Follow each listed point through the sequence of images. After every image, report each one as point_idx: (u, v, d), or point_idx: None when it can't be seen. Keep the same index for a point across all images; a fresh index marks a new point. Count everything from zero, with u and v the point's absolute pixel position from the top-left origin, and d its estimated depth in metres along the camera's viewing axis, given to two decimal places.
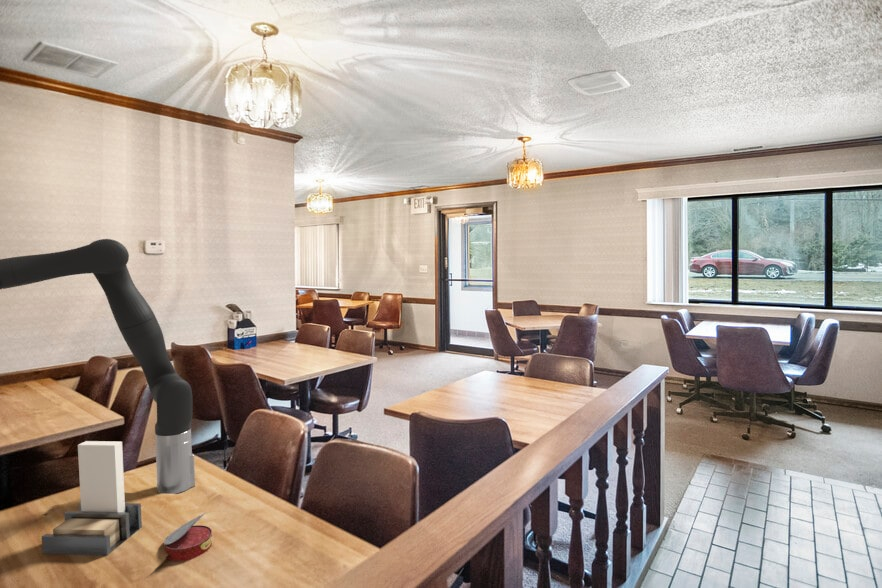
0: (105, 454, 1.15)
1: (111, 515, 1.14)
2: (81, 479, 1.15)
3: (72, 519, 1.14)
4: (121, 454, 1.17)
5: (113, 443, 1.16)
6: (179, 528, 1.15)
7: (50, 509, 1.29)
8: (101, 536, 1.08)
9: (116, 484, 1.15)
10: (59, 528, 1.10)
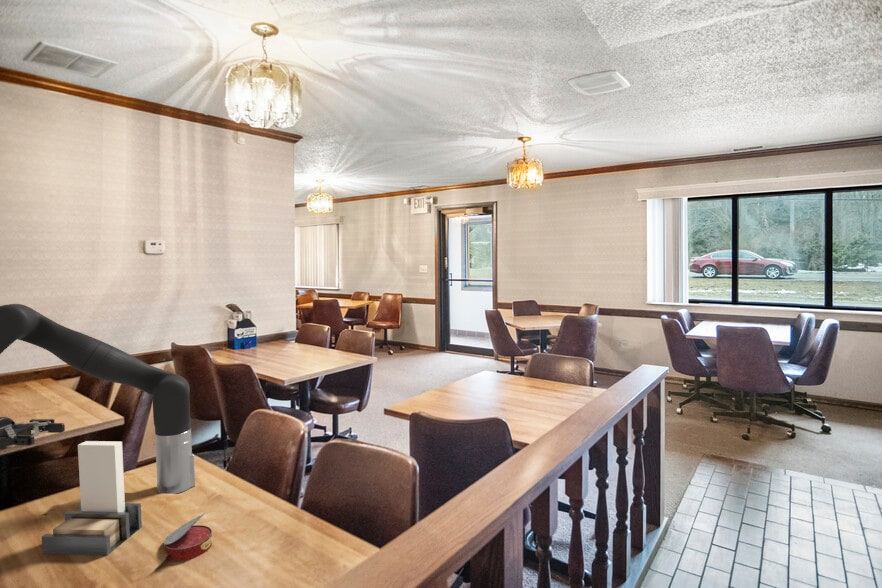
0: (105, 454, 1.15)
1: (111, 515, 1.14)
2: (81, 479, 1.15)
3: (72, 519, 1.14)
4: (121, 454, 1.17)
5: (113, 443, 1.16)
6: (179, 528, 1.15)
7: (50, 509, 1.29)
8: (101, 536, 1.08)
9: (116, 484, 1.15)
10: (59, 528, 1.10)
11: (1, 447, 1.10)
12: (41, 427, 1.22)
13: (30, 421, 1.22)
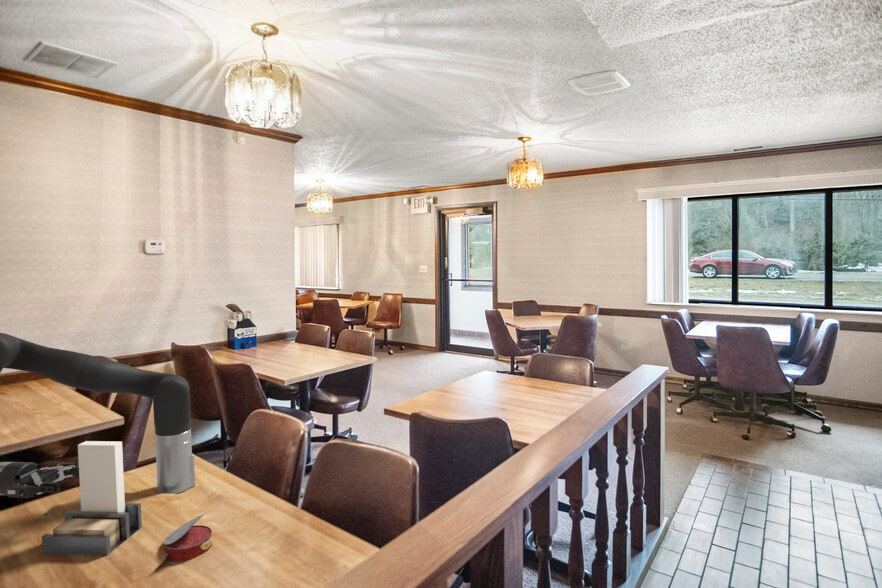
0: (105, 454, 1.15)
1: (111, 515, 1.14)
2: (81, 479, 1.15)
3: (72, 519, 1.14)
4: (121, 454, 1.17)
5: (113, 443, 1.16)
6: (179, 528, 1.15)
7: (50, 509, 1.29)
8: (101, 536, 1.08)
9: (116, 484, 1.15)
10: (59, 528, 1.10)
11: (28, 495, 1.10)
12: (65, 470, 1.23)
13: (54, 464, 1.23)
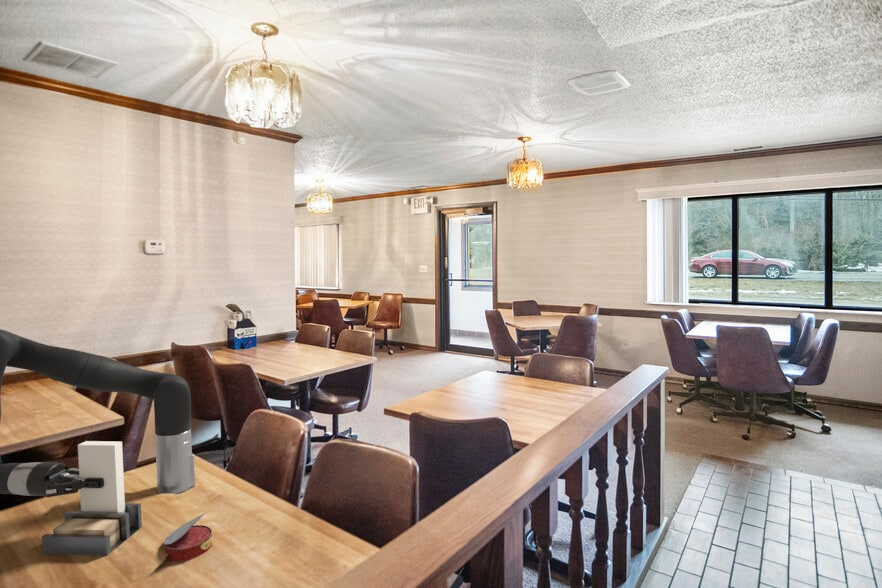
0: (105, 454, 1.15)
1: (111, 515, 1.14)
2: None
3: (72, 519, 1.14)
4: (121, 454, 1.17)
5: (113, 443, 1.16)
6: (179, 528, 1.15)
7: (50, 509, 1.29)
8: (101, 536, 1.08)
9: (116, 484, 1.15)
10: (59, 528, 1.10)
11: (74, 490, 1.12)
12: None
13: None
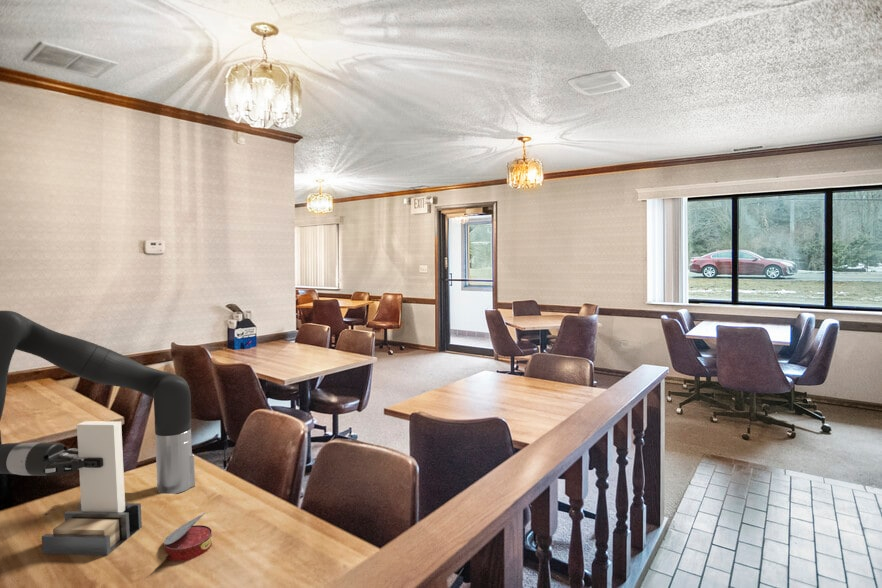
0: (104, 433, 1.14)
1: (111, 515, 1.14)
2: None
3: (72, 519, 1.14)
4: (120, 434, 1.16)
5: (112, 423, 1.15)
6: (179, 528, 1.15)
7: (51, 509, 1.29)
8: (101, 536, 1.08)
9: (115, 464, 1.15)
10: (59, 528, 1.10)
11: (73, 470, 1.12)
12: None
13: None
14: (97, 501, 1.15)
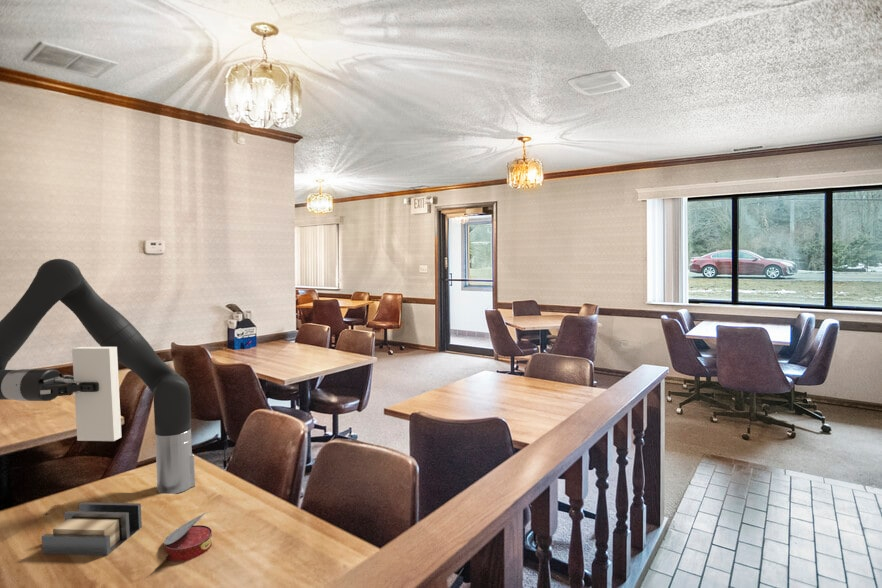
0: (99, 357, 1.13)
1: (111, 515, 1.14)
2: None
3: (72, 519, 1.14)
4: (116, 359, 1.15)
5: (107, 347, 1.14)
6: (179, 528, 1.15)
7: (51, 509, 1.29)
8: (101, 536, 1.08)
9: (111, 388, 1.13)
10: (59, 528, 1.10)
11: (69, 392, 1.11)
12: None
13: None
14: (93, 426, 1.14)
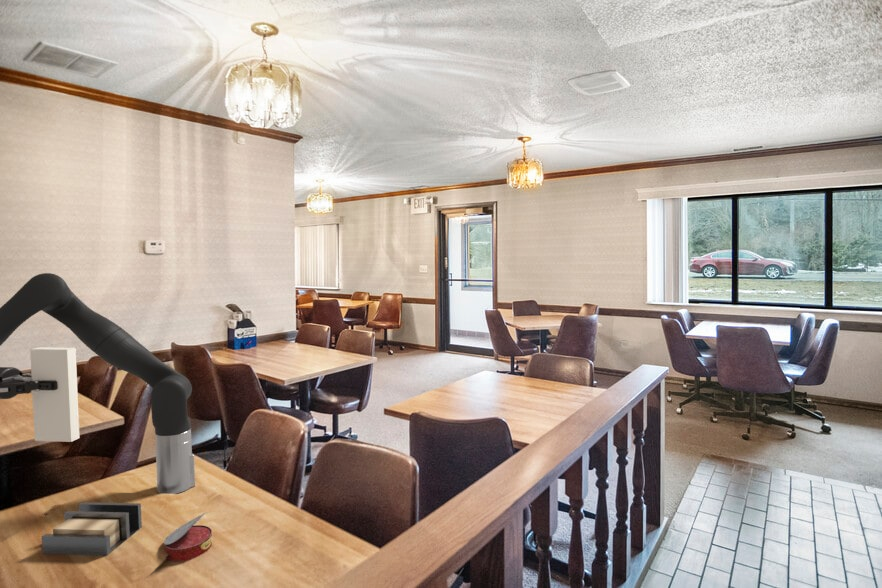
0: (57, 358, 1.14)
1: (111, 515, 1.14)
2: None
3: (72, 519, 1.14)
4: (75, 360, 1.16)
5: (66, 348, 1.15)
6: (179, 528, 1.15)
7: (51, 509, 1.29)
8: (101, 536, 1.08)
9: (68, 389, 1.14)
10: (59, 528, 1.10)
11: (27, 391, 1.12)
12: None
13: None
14: (50, 427, 1.15)
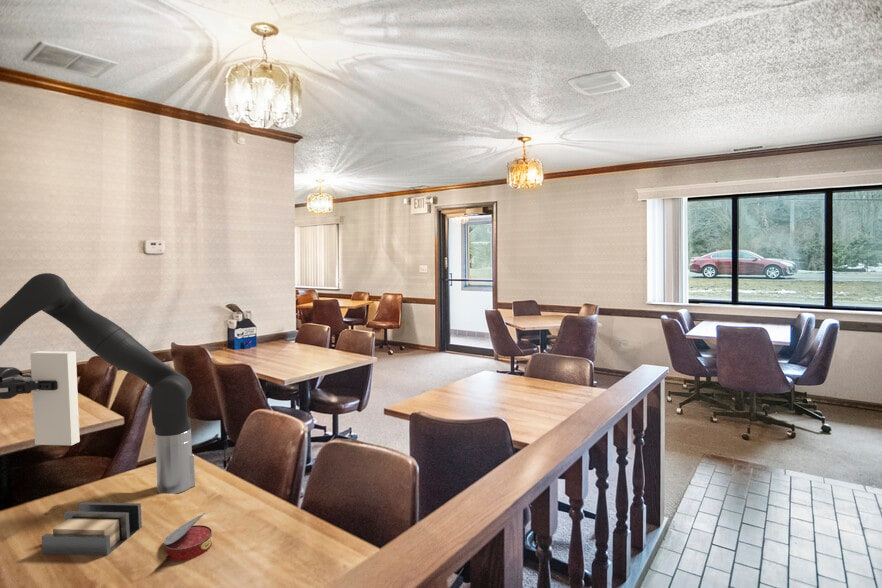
0: (57, 362, 1.14)
1: (111, 515, 1.14)
2: None
3: (72, 519, 1.14)
4: (75, 364, 1.16)
5: (66, 352, 1.15)
6: (179, 528, 1.15)
7: (51, 509, 1.29)
8: (101, 536, 1.08)
9: (68, 393, 1.14)
10: (59, 528, 1.10)
11: (27, 391, 1.12)
12: None
13: None
14: (50, 431, 1.15)
